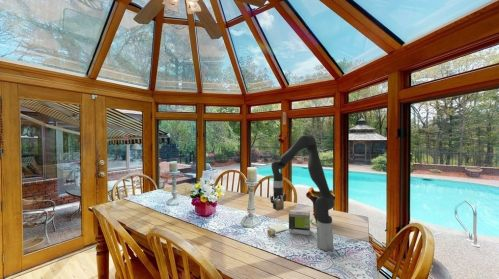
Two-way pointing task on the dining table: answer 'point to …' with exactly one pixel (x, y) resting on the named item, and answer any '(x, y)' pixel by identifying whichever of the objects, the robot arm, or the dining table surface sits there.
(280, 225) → the plate
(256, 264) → the dining table surface
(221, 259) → the dining table surface
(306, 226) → the tea box
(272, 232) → the maple block
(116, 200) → the dining table surface
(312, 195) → the decorative vase
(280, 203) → the walnut cube
